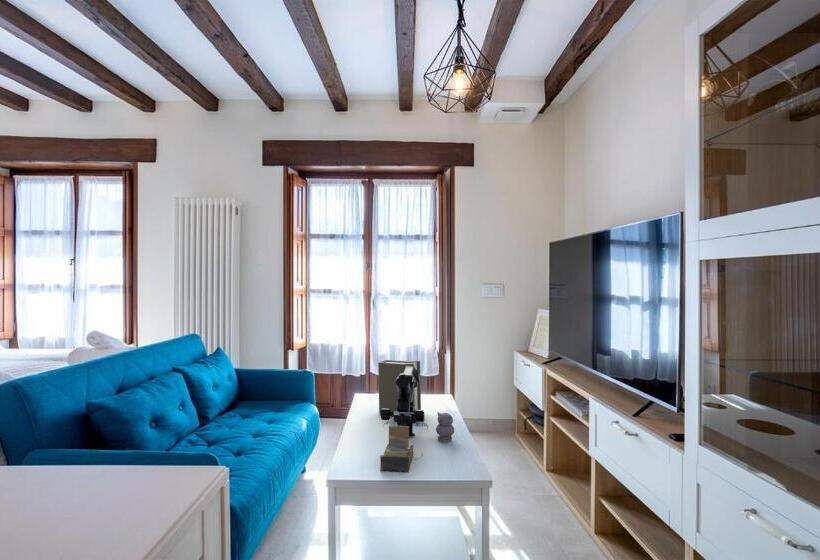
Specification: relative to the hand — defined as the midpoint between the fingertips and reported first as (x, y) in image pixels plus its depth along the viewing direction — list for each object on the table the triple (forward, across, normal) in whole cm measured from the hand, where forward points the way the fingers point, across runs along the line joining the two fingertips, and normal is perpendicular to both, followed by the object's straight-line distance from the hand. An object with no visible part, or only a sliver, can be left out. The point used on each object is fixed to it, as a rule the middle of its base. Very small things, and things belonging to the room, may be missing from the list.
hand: (400, 434), depth 170 cm
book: (-32, +8, -43) cm, 55 cm away
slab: (+9, 0, +1) cm, 9 cm away
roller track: (+12, 0, 0) cm, 12 cm away
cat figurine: (-6, -18, -18) cm, 26 cm away
